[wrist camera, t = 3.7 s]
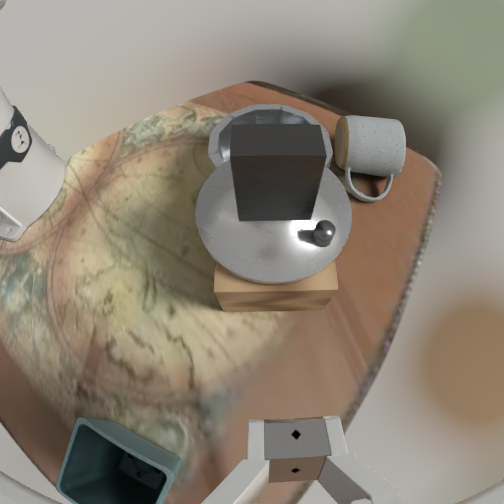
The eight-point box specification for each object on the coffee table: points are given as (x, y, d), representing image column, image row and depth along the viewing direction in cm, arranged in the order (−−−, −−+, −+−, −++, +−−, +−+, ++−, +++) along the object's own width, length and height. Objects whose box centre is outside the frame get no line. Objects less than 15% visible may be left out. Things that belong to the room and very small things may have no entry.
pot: (213, 227, 34) (203, 191, 28) (220, 145, 40) (213, 106, 33) (327, 225, 34) (340, 190, 28) (314, 144, 39) (321, 105, 33)
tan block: (224, 311, 30) (213, 291, 24) (226, 230, 34) (218, 195, 28) (322, 309, 30) (338, 289, 24) (315, 229, 34) (326, 194, 28)
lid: (191, 285, 24) (156, 234, 16) (203, 156, 29) (188, 87, 21) (359, 282, 23) (402, 231, 15) (337, 154, 29) (354, 86, 21)
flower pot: (199, 448, 24) (175, 472, 16) (171, 510, 21) (141, 546, 13) (123, 409, 26) (77, 414, 18) (100, 471, 23) (54, 489, 15)
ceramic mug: (330, 141, 40) (339, 99, 33) (383, 147, 39) (399, 109, 32) (336, 203, 35) (350, 163, 28) (396, 208, 35) (420, 172, 28)
